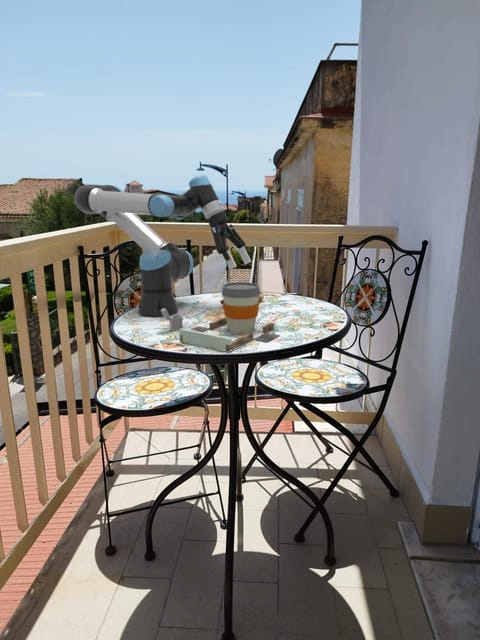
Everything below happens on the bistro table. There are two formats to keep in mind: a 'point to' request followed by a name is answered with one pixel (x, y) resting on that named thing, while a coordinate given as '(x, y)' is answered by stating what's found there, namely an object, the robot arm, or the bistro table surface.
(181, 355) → the bistro table surface
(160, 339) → the bistro table surface
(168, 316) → the lighter
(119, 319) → the bistro table surface
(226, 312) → the reusable coffee cup
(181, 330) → the pale grey board
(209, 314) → the bistro table surface
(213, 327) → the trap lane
